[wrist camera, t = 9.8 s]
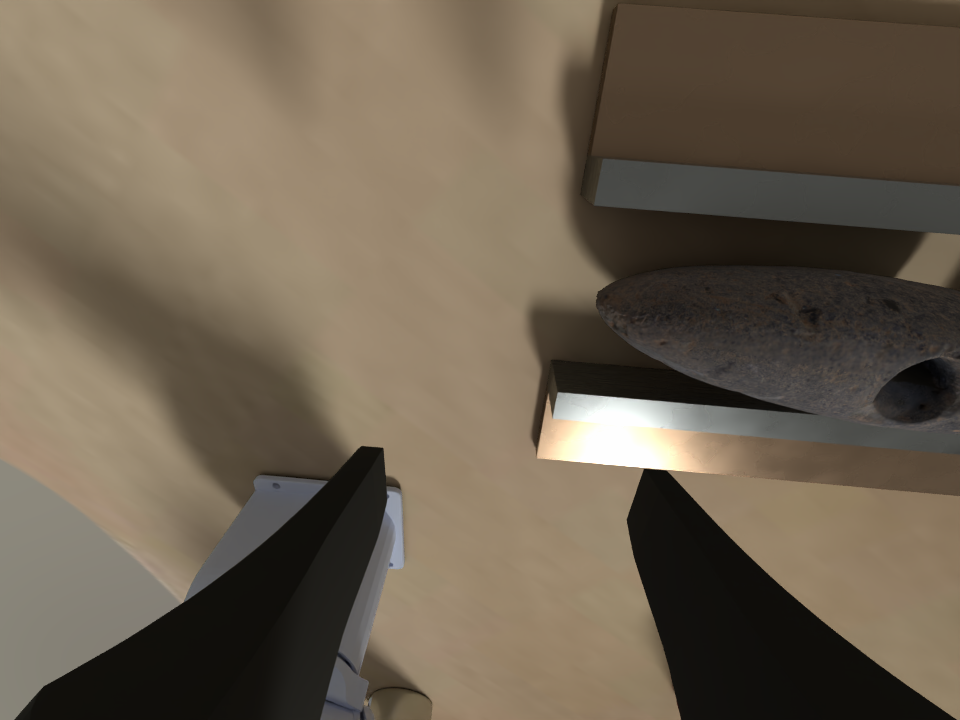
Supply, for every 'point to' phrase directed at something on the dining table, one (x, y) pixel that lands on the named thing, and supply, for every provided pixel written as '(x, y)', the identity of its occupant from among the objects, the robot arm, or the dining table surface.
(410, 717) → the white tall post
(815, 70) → the brown tray
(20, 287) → the dining table surface
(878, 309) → the perforated stone tool
